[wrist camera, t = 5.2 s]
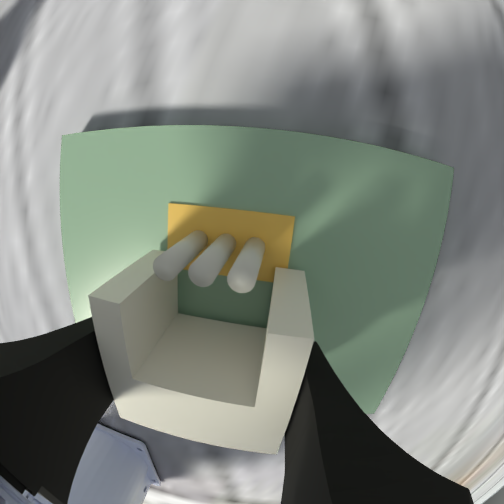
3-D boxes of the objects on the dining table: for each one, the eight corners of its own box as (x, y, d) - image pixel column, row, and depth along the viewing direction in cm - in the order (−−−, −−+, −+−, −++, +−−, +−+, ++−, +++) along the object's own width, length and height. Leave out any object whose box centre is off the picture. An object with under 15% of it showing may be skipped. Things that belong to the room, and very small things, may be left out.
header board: (370, 397, 12) (384, 458, 8) (96, 349, 14) (57, 391, 10) (438, 166, 9) (504, 172, 5) (78, 136, 10) (12, 134, 6)
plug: (281, 378, 11) (277, 454, 7) (159, 355, 11) (120, 417, 8) (304, 270, 9) (314, 338, 6) (153, 249, 10) (88, 295, 6)
